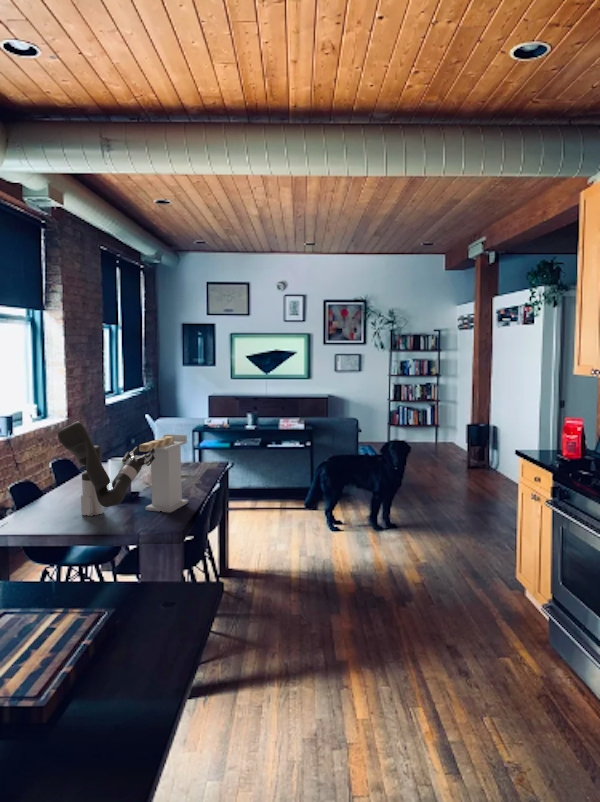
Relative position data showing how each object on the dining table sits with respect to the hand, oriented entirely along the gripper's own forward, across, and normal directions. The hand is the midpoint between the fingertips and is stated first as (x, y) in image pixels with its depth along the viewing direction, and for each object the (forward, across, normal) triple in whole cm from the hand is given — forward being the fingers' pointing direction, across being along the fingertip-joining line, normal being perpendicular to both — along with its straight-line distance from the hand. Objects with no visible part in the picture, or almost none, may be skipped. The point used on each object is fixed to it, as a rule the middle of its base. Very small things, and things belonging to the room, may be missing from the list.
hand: (145, 448), depth 285 cm
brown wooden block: (+9, 0, +6) cm, 11 cm away
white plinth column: (-1, 0, +38) cm, 38 cm away
